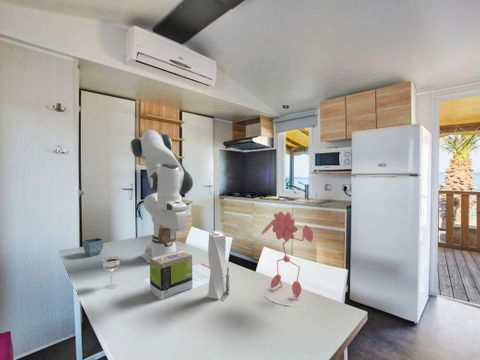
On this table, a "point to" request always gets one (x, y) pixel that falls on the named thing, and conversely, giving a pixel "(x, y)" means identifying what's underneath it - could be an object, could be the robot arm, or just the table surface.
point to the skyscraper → (217, 266)
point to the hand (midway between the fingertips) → (167, 236)
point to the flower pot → (93, 246)
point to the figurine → (285, 230)
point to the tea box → (170, 274)
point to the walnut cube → (165, 235)
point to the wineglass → (111, 268)
